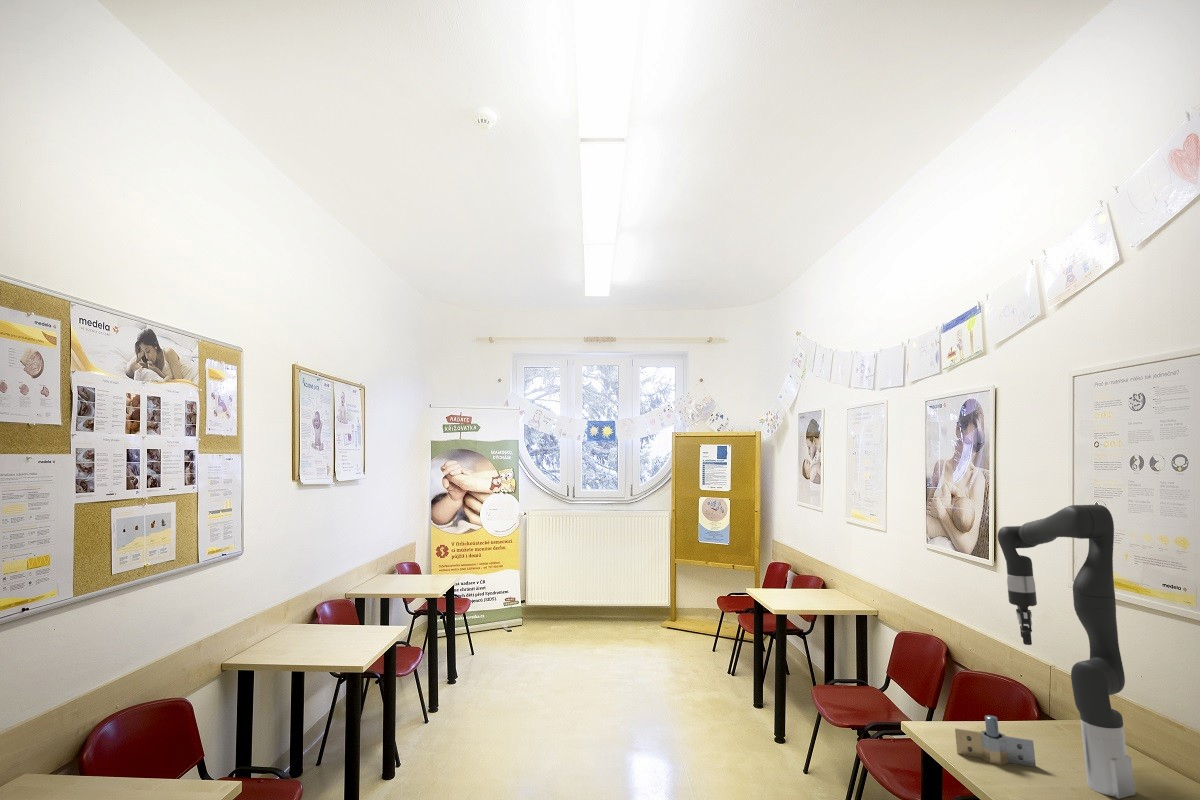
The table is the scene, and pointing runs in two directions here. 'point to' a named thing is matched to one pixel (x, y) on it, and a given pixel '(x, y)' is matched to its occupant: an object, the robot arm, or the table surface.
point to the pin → (991, 726)
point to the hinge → (995, 748)
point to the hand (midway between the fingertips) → (1026, 641)
